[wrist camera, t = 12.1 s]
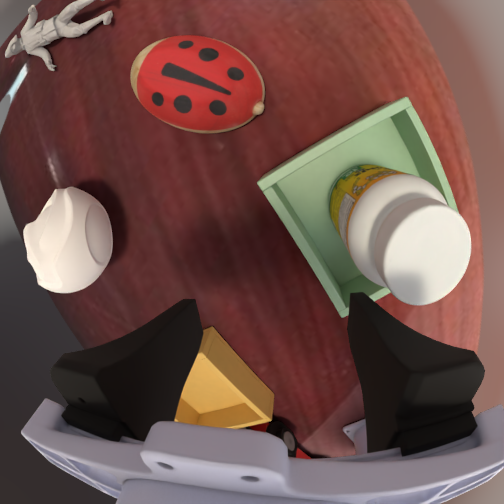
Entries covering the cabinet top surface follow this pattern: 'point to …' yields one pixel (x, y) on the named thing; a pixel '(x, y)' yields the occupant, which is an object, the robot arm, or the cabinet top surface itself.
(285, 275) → the cabinet top surface
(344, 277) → the sage bin
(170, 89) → the ladybug figurine
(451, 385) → the robot arm
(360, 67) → the cabinet top surface
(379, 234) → the supplement bottle
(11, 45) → the soldier figure
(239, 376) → the ochre bin
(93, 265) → the white lumpy ball
